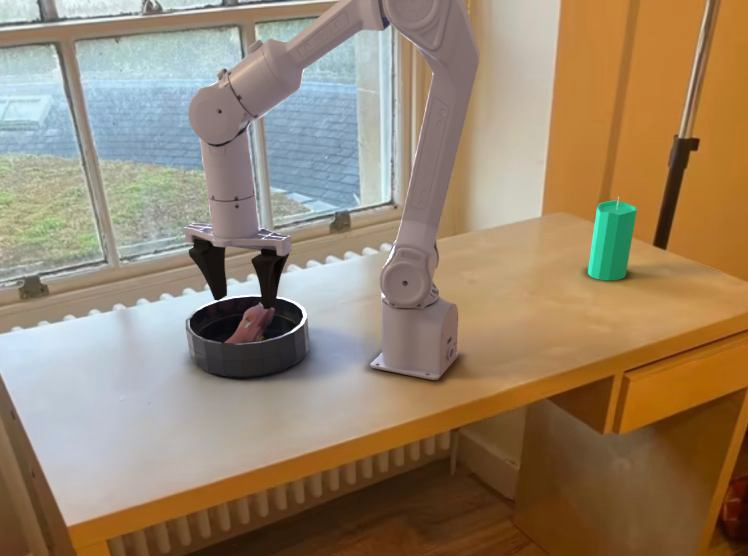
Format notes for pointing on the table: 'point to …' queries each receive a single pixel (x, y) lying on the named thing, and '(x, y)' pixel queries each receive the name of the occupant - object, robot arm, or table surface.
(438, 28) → the robot arm
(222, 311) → the dark round bowl
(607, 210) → the candle
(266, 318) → the pink curved piece
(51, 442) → the table surface
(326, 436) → the table surface
